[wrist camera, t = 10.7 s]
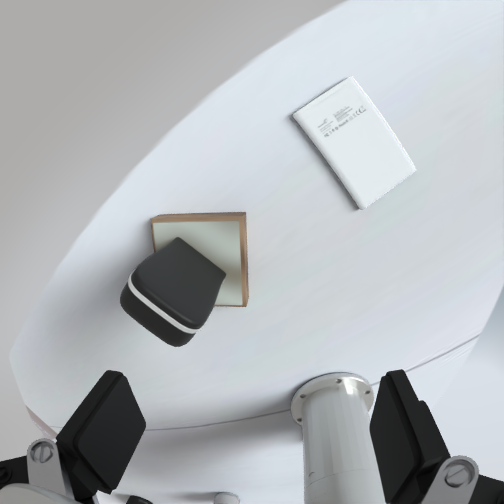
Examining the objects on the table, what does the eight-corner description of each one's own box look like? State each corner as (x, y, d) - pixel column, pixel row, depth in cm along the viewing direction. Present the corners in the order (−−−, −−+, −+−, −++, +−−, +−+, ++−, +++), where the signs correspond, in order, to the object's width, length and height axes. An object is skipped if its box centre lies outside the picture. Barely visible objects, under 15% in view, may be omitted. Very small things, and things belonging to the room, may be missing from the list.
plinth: (248, 296, 35) (245, 308, 32) (169, 294, 36) (160, 305, 33) (245, 212, 32) (242, 217, 29) (159, 214, 33) (149, 219, 30)
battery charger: (159, 259, 31) (106, 307, 20) (177, 233, 30) (125, 272, 19) (209, 298, 32) (178, 362, 21) (230, 273, 31) (204, 332, 20)
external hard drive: (358, 208, 31) (291, 116, 29) (411, 169, 29) (349, 78, 27) (362, 210, 30) (292, 114, 27) (417, 169, 27) (352, 74, 25)
